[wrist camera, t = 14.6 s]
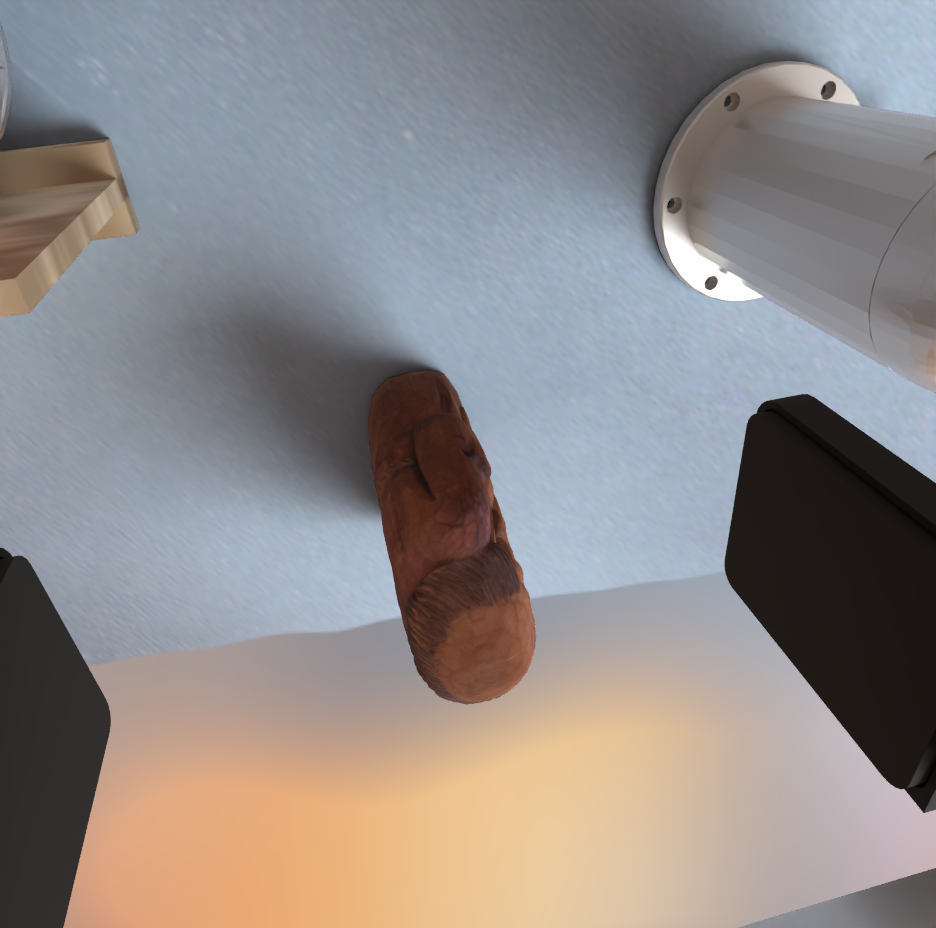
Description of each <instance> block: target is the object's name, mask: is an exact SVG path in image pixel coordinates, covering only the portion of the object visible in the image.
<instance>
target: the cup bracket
mask: <svg viewBox="0 0 936 928" xmlns="http://www.w3.org/2000/svg"><path fill="white" fill-rule="evenodd" d="M11 93H12V80H11V64H10V59H9V54H8V49H7V43H6V39H5V36H4V33H3V30H2V26H1V23H0V141H1V138H2V136H3V134H4V131H5V129H6V125H7V121H8V116H9V112H10V106H11Z"/></svg>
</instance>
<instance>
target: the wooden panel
mask: <svg viewBox="0 0 936 928" xmlns="http://www.w3.org/2000/svg"><path fill="white" fill-rule="evenodd" d="M138 230H139V226H138V223H137V219H136V216H135V213H134V210H133V207H132V204H131V201H130V198H129V195H128V192H127V189H126V186H125V183H124V180H123V177H122V174H121V171H120V168H119V165H118V162H117V159H116V156H115V153H114V150H113V147H112V144H111V141H110V139H102V140H93V141H84V142H75V143H66V144H58V145H49V146H40V147H31V148H22V149H14V150H5V151H0V317H5V316H12V315H19V314H26V313H30V312H31V311H32V310H33V309H34V308H35V306H36V305H37V304H38V303H39V302H40V301H41V299H42V298H43V297H44V296H45V295H46V293H47V292H48V291H49V290H50V289H51V287H52V286H53V285H54V284H55V283H56V282H57V280H58V279H59V278H60V277H61V276H62V274H63V273H64V272H65V271H66V270H67V269H68V267H69V266H70V265H71V264H72V263H73V261H74V260H75V259H76V258H77V257H78V256H79V254H80V253H81V252H82V251H83V250H84V248H85V247H86V246H87V245H88V244H89V243H90V241H91V240H98V239H106V238H113V237H121V236H128V235H135V234H136V233H137V231H138Z"/></svg>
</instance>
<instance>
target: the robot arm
mask: <svg viewBox="0 0 936 928" xmlns="http://www.w3.org/2000/svg"><path fill="white" fill-rule="evenodd" d="M726 97H727V101H726V103H725V104H724V102H725V99H726ZM670 199H671V202H670V204H669V205H668V206H667V204H668V202H669V200H670ZM653 213H654V228H655V234H656V238H657V241H658V245H659V249H660V251H661V253H662V255H663V257H664V259H665V261H666V263H667V265H668V267H669V268H670V269H671V270H672V271H673V272H674V274H675V275H676V276H677V277H678V278H679V279H680V280H681V281H683V282H684V283H685V284H687V285H688V286H689V287H691V288H692V289H694V290H695V291H697V292H699V293H700V294H702V295H704V296H707V297H710V298H714V299H718V300H721V301H746V300H752V299H758V298H761V297H765V298H766V299H768V300H770V301H771V302H773V303H775V304H777V305H778V306H780V307H782V308H784V309H785V310H787V311H789V312H791V313H792V314H794V315H796V316H797V317H799V318H801V319H803V320H804V321H806V322H808V323H810V324H811V325H813V326H815V327H817V328H818V329H820V330H822V331H823V332H825V333H827V334H829V335H830V336H832V337H834V338H836V339H837V340H839V341H841V342H843V343H844V344H846V345H848V346H849V347H851V348H853V349H855V350H856V351H858V352H860V353H862V354H863V355H865V356H867V357H868V358H870V359H872V360H874V361H876V362H877V363H879V364H881V365H883V366H885V367H886V368H888V369H890V370H892V371H894V372H896V373H897V374H899V375H901V376H902V377H904V378H906V379H908V380H909V381H911V382H913V383H915V384H917V385H918V386H921V387H923V388H925V389H927V390H930V391H932V392H934V393H936V117H930V116H924V115H917V114H910V113H904V112H897V111H890V110H884V109H877V108H870V107H864V106H861V104H860V103H859V101H858V99H857V97H856V95H855V93H854V91H853V90H852V89H851V88H850V87H849V86H848V85H847V84H846V83H845V82H844V80H843V79H842V78H841V77H839V76H838V75H836V74H834V73H833V72H831V71H829V70H828V69H826V68H824V67H821V66H817V65H814V64H810V63H806V62H796V61H779V62H771V63H764V64H761V65H758V66H755V67H752V68H749V69H746V70H744V71H742V72H740V73H738V74H737V75H735V76H733V77H731V78H730V79H728V80H726V81H724V82H723V83H722V84H720V85H719V86H718V87H717V88H716V89H714V90H713V91H712V92H711V93H710V94H708V95H707V96H706V97H705V98H704V99H703V100H702V101H701V102H700V103H699V104H698V105H697V106H696V108H695V109H694V110H693V111H692V112H691V113H690V115H689V116H688V117H687V118H686V119H685V121H684V123H683V124H682V126H681V127H680V129H679V130H678V132H677V134H676V135H675V137H674V138H673V140H672V142H671V144H670V147H669V149H668V151H667V153H666V156H665V158H664V160H663V162H662V165H661V169H660V173H659V176H658V180H657V184H656V189H655V198H654V207H653ZM725 572H726V576H727V579H728V581H729V583H730V585H731V586H732V588H733V589H734V590H735V592H736V593H737V594H738V595H739V597H740V598H741V599H742V600H743V602H744V603H745V604H746V605H747V607H748V608H749V609H750V610H751V612H752V613H753V614H754V615H755V617H756V618H757V619H758V620H759V622H760V623H761V624H762V625H763V627H764V628H765V629H766V630H767V632H768V633H769V634H770V636H771V637H772V638H773V639H774V641H775V642H776V643H777V644H778V646H779V647H780V648H781V649H782V651H783V652H784V653H785V654H786V656H788V658H789V659H790V661H791V662H792V663H793V664H794V666H795V667H796V668H797V669H798V671H799V672H800V673H801V674H802V676H803V677H804V678H805V679H806V681H807V682H808V683H809V684H810V686H811V687H812V688H813V689H814V691H815V692H816V693H817V694H818V695H819V697H820V698H821V699H822V701H823V702H824V703H825V704H826V706H827V707H828V708H829V709H830V711H831V712H832V713H833V714H834V716H835V717H836V718H837V720H838V721H839V722H840V723H841V724H842V726H843V727H844V728H845V729H846V731H847V732H848V733H849V734H850V736H851V737H852V738H853V740H854V741H855V742H856V743H857V744H858V746H859V747H860V748H861V750H862V751H863V752H864V753H865V755H866V756H867V757H868V758H869V760H870V761H871V762H872V763H873V765H874V766H875V767H876V768H877V770H878V771H879V772H880V773H881V775H882V776H883V777H884V778H885V779H886V780H887V781H888V782H889V783H890V784H891V785H893V786H894V787H896V788H899V789H905V790H906V791H907V793H908V794H909V795H910V797H911V798H912V799H913V800H914V802H916V804H917V805H918V806H919V807H920V809H921V810H922V811H923V813H926V812H929V811H933V810H936V483H935V482H933V481H932V480H930V479H929V478H927V477H926V476H925V475H923V474H922V473H920V472H919V471H918V470H916V469H915V468H913V467H912V466H911V465H909V464H908V463H906V462H905V461H903V460H902V459H901V458H899V457H898V456H896V455H895V454H894V453H892V452H891V451H889V450H888V449H886V448H885V447H884V446H882V445H881V444H879V443H878V442H877V441H875V440H874V439H872V438H871V437H869V436H868V435H867V434H865V433H864V432H862V431H861V430H860V429H858V428H857V427H855V426H854V425H853V424H851V423H850V422H848V421H847V420H845V419H844V418H843V417H841V416H840V415H838V414H837V413H836V412H834V411H833V410H831V409H830V408H828V407H827V406H826V405H824V404H823V403H821V402H820V401H819V400H817V399H816V398H814V397H812V396H810V395H808V394H801V395H796V396H791V397H785V398H780V399H775V400H770V401H766V402H764V403H762V404H761V406H760V407H759V409H758V411H757V414H754V415H752V416H751V417H750V419H749V420H748V423H747V428H746V434H745V440H744V446H743V452H742V458H741V464H740V471H739V477H738V483H737V489H736V495H735V501H734V507H733V513H732V520H731V526H730V532H729V538H728V544H727V550H726V556H725ZM110 722H111V718H110V710H109V706H108V703H107V701H106V699H105V697H104V695H103V693H102V691H101V689H100V688H99V686H98V684H97V682H96V681H95V679H94V677H93V675H92V673H91V672H90V670H89V668H88V666H87V664H86V663H85V661H84V659H83V657H82V655H81V654H80V652H79V650H78V648H77V646H76V645H75V643H74V641H73V639H72V637H71V636H70V634H69V632H68V630H67V628H66V627H65V625H64V623H63V621H62V620H61V618H60V616H59V614H58V612H57V611H56V609H55V607H54V605H53V603H52V602H51V600H50V598H49V596H48V594H47V593H46V591H45V589H44V587H43V585H42V584H41V582H40V580H39V578H38V577H37V575H36V573H35V571H34V569H33V568H32V566H31V564H30V563H29V561H28V560H27V559H26V558H24V557H23V556H14V557H12V556H11V554H10V553H9V552H8V551H6V550H5V549H4V548H0V928H63V926H64V922H65V918H66V914H67V910H68V905H69V901H70V897H71V892H72V888H73V884H74V880H75V876H76V871H77V867H78V863H79V858H80V855H81V850H82V846H83V842H84V838H85V834H86V829H87V825H88V821H89V817H90V812H91V808H92V804H93V800H94V796H95V791H96V787H97V783H98V779H99V774H100V770H101V766H102V762H103V757H104V753H105V749H106V745H107V741H108V737H109V732H110V724H111V723H110ZM739 928H936V868H935V869H931V870H928V871H925V872H922V873H918V874H915V875H911V876H908V877H905V878H902V879H898V880H895V881H892V882H888V883H885V884H882V885H878V886H875V887H871V888H869V889H865V890H862V891H859V892H855V893H852V894H848V895H845V896H842V897H838V898H835V899H832V900H828V901H825V902H822V903H818V904H815V905H812V906H808V907H805V908H802V909H799V910H795V911H792V912H789V913H785V914H782V915H779V916H776V917H772V918H769V919H765V920H762V921H759V922H756V923H752V924H749V925H746V926H742V927H739Z"/></svg>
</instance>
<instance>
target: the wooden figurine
mask: <svg viewBox="0 0 936 928" xmlns="http://www.w3.org/2000/svg"><path fill="white" fill-rule="evenodd" d="M368 429H369V443H370V449H371V458H372V470H373V474H374V481H375V486H376V490H377V496H378V501H379V506H380V509H381V515H382V525H383V532H384V537H385V541H386V546H387V551H388V555H389V559H390V562H391V566H392V571H393V576H394V582H395V589H396V595H397V600H398V604H399V607H400V610H401V615H402V620H403V624H404V628H405V631H406V634H407V636H408V642H409V645H410V648H411V652H412V654H413V655H414V663H415V665H416V667H417V671H418V673H419V674H420V676H421V677H422V678H423V680H424V681H425V682H427V684H428V686H429V688H431V689H432V690H434V691H435V693H436V694H437V695H438V696H439V697H441V698H444V699H446V700H451V701H453V702H459V703H463V704H474V703H479V702H484V701H489V700H492V699H494V698H498V697H500V696H501V695H503V694H505V693H507V692H508V691H510V690H511V689H512V688H513V687H514V686H515V685H516V684H518V683H519V682H520V680H521V679H522V678H523V676H524V675H525V674H526V672H527V671H528V668H529V666H530V664H531V660H532V657H533V653H534V649H535V642H536V631H535V622H534V618H533V614H532V609H531V603H530V597H529V594H528V592H527V590H526V588H525V586H524V582H523V571H522V568H521V566H520V565H519V563H518V562H517V561H516V560H515V558H514V555H513V551H512V549H511V547H510V544H509V541H508V539H507V533H506V526H505V521H504V519H503V517H502V514H501V511H500V508H499V505H498V502H497V499H496V497H495V495H494V493H493V485H492V482H491V479H490V475H491V467H490V464H489V462H488V461H487V458H486V455H485V453H484V451H483V449H482V447H481V445H480V443H479V441H478V439H477V437H476V436H475V434H474V432H473V431H472V429H471V426H470V422H469V418H468V416H467V414H466V412H465V410H464V408H463V407H462V404H461V401H460V399H459V396H458V393H457V391H456V390H455V388H454V387H453V386H452V384H451V383H450V381H449V380H448V379H447V378H446V376H445V374H443V373H440V372H435V371H431V370H425V371H419V372H410V373H406V374H404V375H400V376H396V377H390V378H388V379H387V380H385V381H384V382H383V384H382V385H381V386H380V387H379V388H378V389H377V391H376V392H375V394H374V396H373V398H372V403H371V408H370V413H369V422H368Z"/></svg>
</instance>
